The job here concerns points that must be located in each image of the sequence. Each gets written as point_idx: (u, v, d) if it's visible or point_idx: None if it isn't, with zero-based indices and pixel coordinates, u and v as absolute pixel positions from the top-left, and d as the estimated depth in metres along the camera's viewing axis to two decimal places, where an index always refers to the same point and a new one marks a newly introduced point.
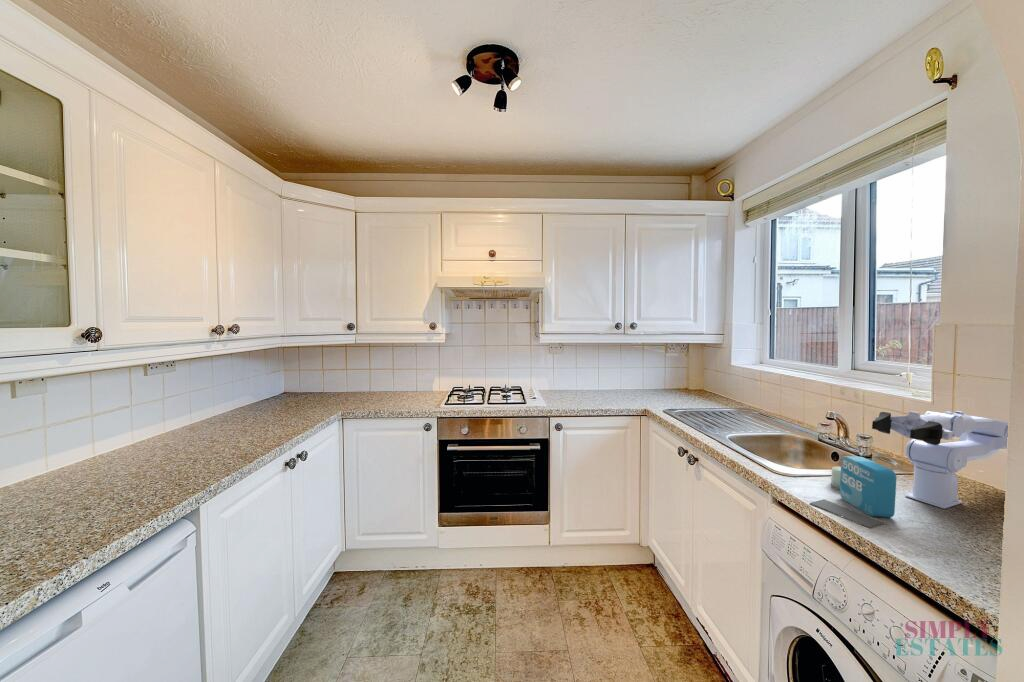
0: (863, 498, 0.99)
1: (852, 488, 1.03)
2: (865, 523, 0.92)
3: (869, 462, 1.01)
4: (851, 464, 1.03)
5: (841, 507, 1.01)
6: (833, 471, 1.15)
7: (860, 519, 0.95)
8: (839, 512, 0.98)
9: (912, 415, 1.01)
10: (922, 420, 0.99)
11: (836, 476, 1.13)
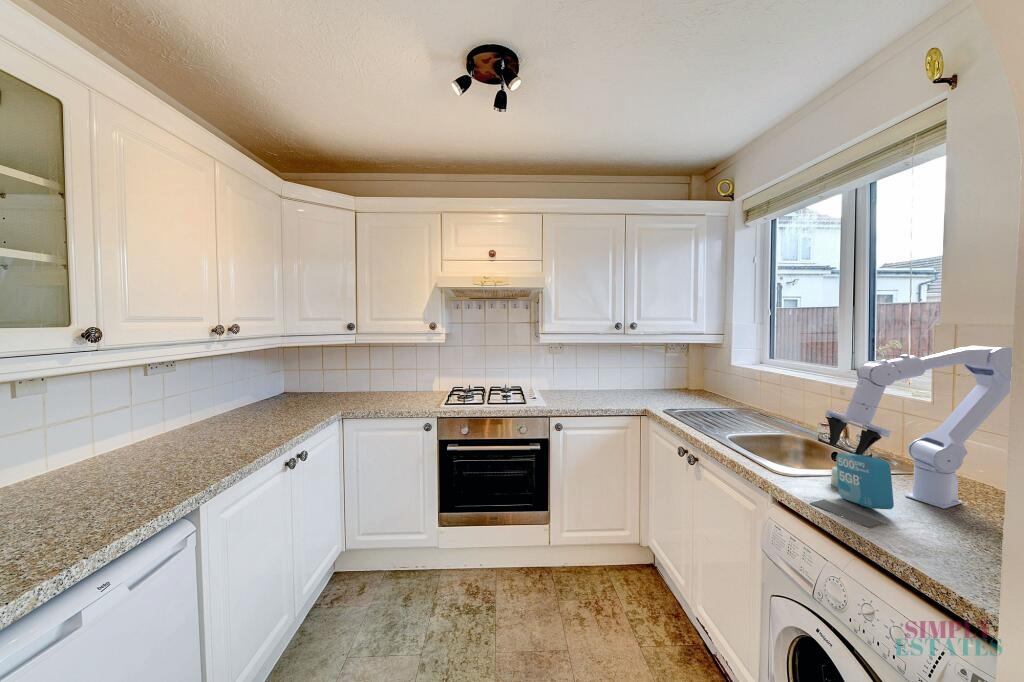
0: (861, 492, 1.00)
1: (850, 484, 1.03)
2: (865, 523, 0.92)
3: (863, 456, 1.03)
4: (846, 460, 1.05)
5: (841, 507, 1.01)
6: (833, 471, 1.15)
7: (860, 519, 0.95)
8: (839, 512, 0.98)
9: (849, 420, 1.08)
10: (859, 423, 1.06)
11: (836, 476, 1.13)
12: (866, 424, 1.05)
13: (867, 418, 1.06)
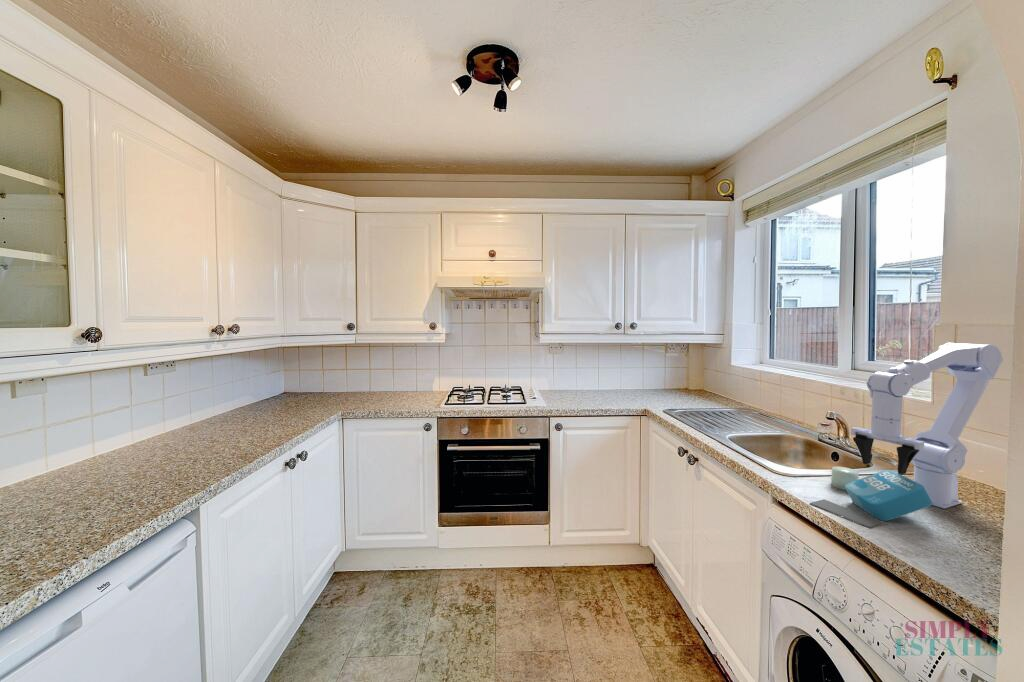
0: (876, 493, 0.97)
1: (871, 486, 1.00)
2: (865, 523, 0.92)
3: None
4: (893, 475, 1.00)
5: (841, 507, 1.01)
6: (833, 471, 1.15)
7: (860, 519, 0.95)
8: (839, 512, 0.98)
9: (877, 437, 1.02)
10: (889, 440, 1.01)
11: (837, 476, 1.13)
12: (896, 439, 0.99)
13: (895, 432, 1.00)
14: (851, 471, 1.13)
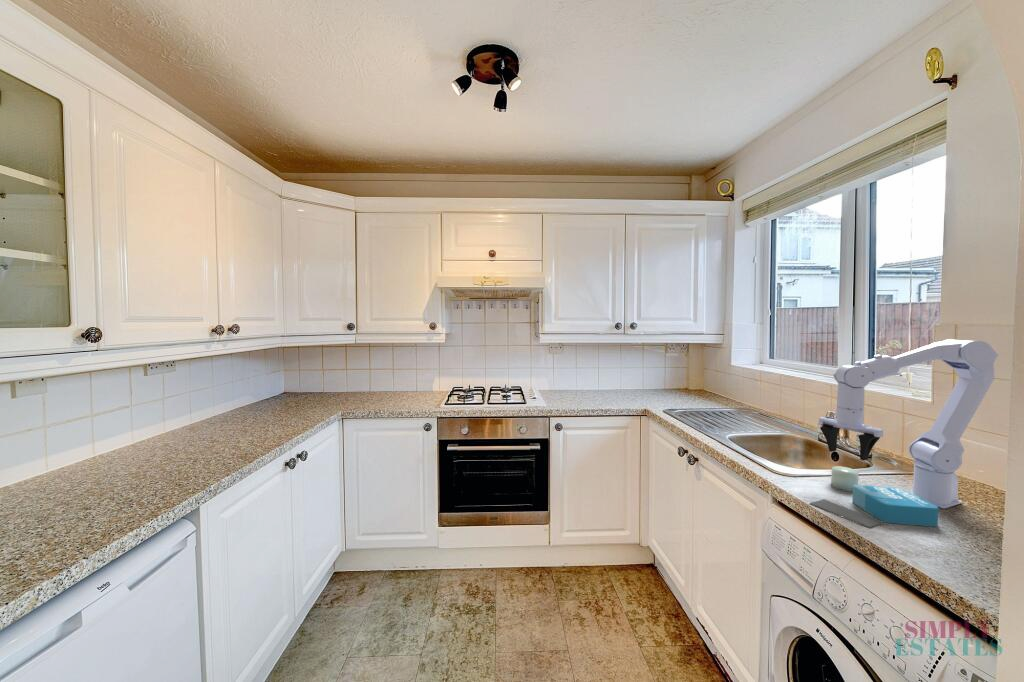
0: (887, 498, 0.97)
1: (882, 492, 1.00)
2: (865, 523, 0.92)
3: None
4: (906, 493, 1.00)
5: (841, 507, 1.01)
6: (834, 471, 1.14)
7: (860, 519, 0.95)
8: (839, 512, 0.98)
9: (841, 426, 1.09)
10: (851, 428, 1.08)
11: (838, 476, 1.13)
12: (858, 428, 1.07)
13: (857, 421, 1.08)
14: (851, 471, 1.13)
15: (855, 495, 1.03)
